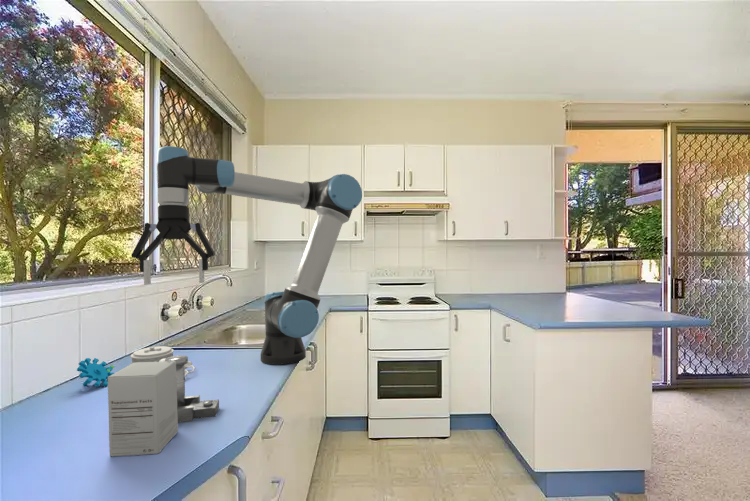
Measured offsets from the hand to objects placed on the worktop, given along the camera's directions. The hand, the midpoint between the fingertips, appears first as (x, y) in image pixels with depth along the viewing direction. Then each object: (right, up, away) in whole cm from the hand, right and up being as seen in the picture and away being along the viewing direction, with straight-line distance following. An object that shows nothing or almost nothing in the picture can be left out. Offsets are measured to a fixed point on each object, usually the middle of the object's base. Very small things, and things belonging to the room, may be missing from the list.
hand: (175, 283), depth 105 cm
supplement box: (+9, -29, -30) cm, 43 cm away
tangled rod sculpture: (-7, -29, +8) cm, 31 cm away
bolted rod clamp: (+9, -29, -17) cm, 35 cm away
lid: (-21, -29, +25) cm, 44 cm away
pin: (+9, -29, -17) cm, 35 cm away
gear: (-24, -29, +4) cm, 38 cm away
